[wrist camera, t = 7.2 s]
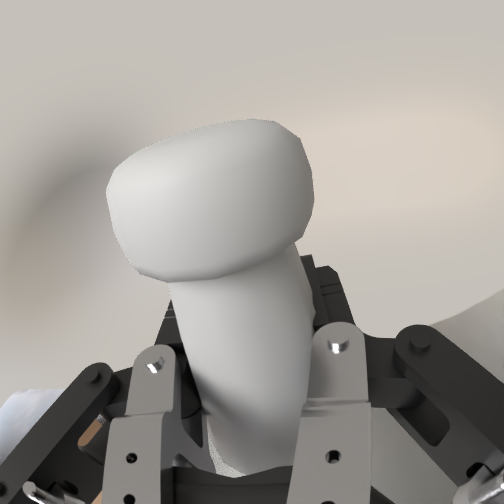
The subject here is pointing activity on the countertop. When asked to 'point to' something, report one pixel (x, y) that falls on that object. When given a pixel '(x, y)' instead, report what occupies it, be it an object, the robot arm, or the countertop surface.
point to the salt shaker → (229, 273)
